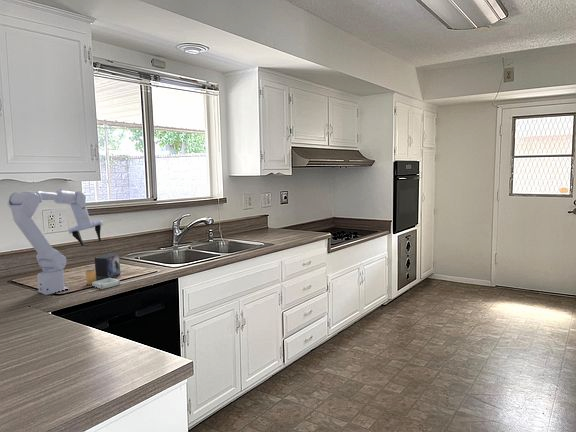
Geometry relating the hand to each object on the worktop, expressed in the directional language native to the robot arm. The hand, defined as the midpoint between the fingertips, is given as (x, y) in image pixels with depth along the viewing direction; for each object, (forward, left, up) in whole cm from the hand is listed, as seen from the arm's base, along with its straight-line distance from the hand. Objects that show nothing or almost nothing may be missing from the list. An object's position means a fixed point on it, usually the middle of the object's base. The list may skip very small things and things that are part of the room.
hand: (91, 242), depth 203 cm
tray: (-5, -19, -16) cm, 26 cm away
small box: (+3, -7, -17) cm, 18 cm away
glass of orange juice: (-7, -11, -16) cm, 21 cm away
